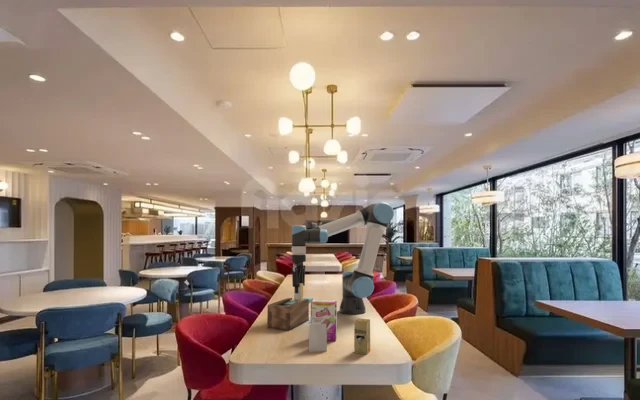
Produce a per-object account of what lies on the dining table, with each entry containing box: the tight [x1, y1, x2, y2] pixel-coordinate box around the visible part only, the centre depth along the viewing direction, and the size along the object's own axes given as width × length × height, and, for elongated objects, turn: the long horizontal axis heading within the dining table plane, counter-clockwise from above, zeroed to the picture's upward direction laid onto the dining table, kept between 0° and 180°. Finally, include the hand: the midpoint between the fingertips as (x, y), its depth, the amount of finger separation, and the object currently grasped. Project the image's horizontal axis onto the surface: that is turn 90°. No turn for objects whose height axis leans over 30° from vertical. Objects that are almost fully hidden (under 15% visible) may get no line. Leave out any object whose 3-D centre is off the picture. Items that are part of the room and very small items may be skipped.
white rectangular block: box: [308, 323, 328, 353], centre depth 156 cm, size 4×7×10 cm, turn 96°
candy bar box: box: [310, 299, 338, 342], centre depth 171 cm, size 11×5×16 cm, turn 84°
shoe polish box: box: [353, 318, 371, 355], centre depth 153 cm, size 5×5×12 cm
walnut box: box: [266, 297, 310, 331], centre depth 199 cm, size 12×23×11 cm, turn 159°
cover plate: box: [283, 283, 314, 306], centre depth 210 cm, size 9×20×11 cm, turn 160°
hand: (298, 298), depth 210 cm, fingers closed on cover plate, 3 cm apart
